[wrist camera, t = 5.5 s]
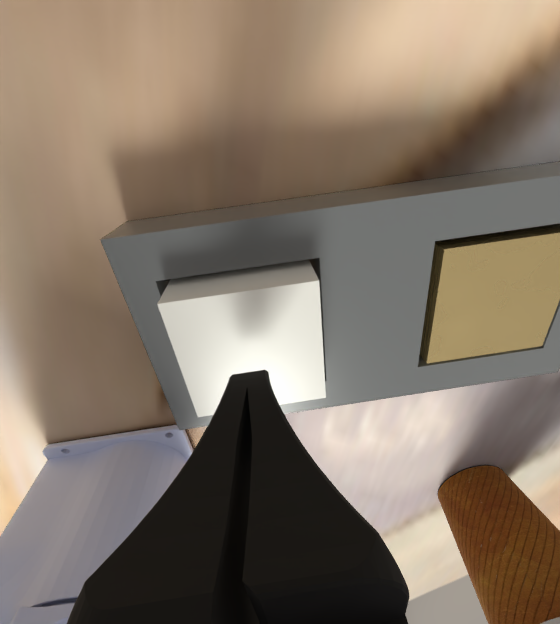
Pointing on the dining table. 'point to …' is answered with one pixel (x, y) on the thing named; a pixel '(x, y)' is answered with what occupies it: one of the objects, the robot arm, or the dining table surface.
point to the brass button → (491, 293)
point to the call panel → (345, 276)
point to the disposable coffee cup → (504, 546)
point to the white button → (247, 331)
